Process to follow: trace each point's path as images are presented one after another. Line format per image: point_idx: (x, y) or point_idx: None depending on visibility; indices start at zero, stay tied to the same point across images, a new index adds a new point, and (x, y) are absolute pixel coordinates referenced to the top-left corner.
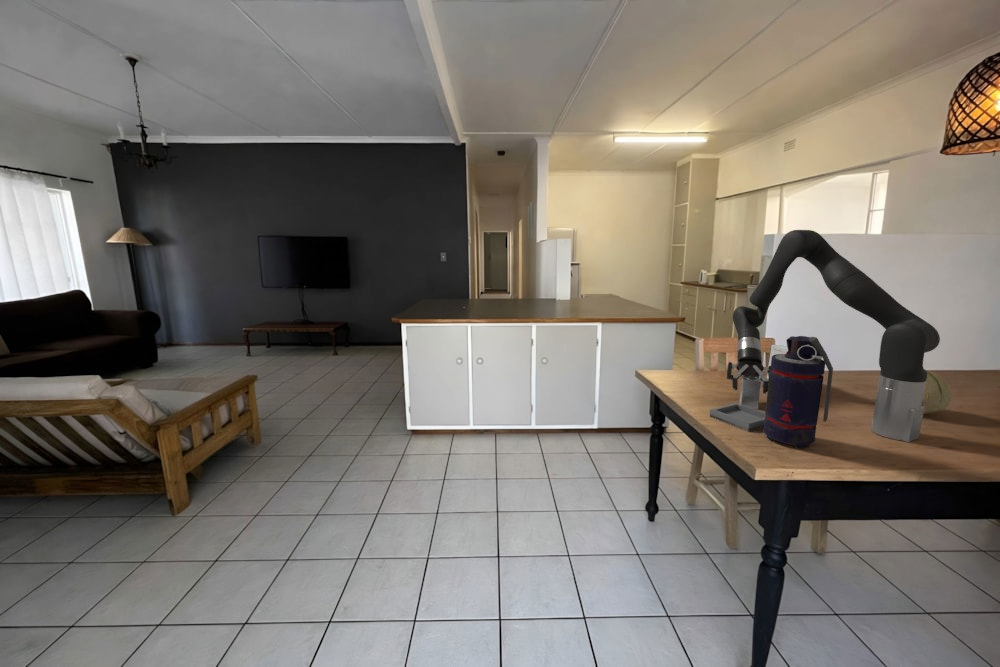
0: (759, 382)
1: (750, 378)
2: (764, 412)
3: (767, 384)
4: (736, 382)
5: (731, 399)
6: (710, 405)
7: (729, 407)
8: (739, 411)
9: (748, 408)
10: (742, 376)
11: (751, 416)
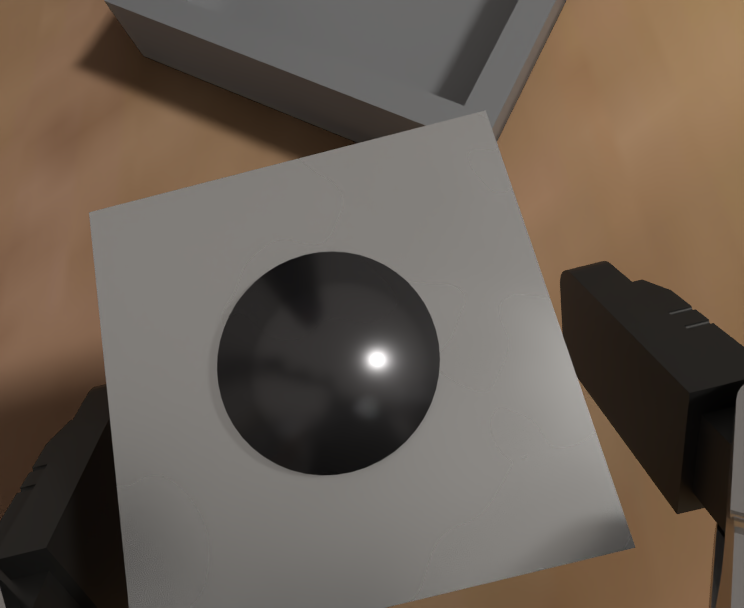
0: (131, 211)
1: (347, 343)
2: (196, 33)
3: (6, 534)
4: (645, 316)
5: (605, 566)
6: (724, 171)
7: (516, 12)
8: (423, 89)
9: (342, 62)
10: (614, 520)
11: (312, 32)
